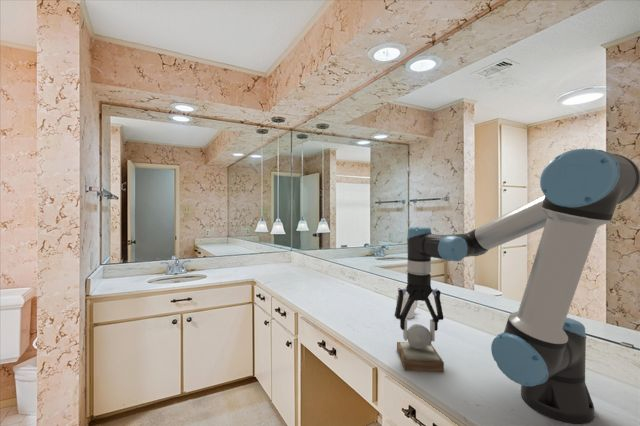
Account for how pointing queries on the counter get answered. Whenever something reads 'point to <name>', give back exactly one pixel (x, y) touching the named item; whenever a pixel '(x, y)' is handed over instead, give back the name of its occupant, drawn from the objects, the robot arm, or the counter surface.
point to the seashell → (419, 336)
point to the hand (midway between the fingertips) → (418, 339)
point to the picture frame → (419, 358)
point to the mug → (413, 307)
